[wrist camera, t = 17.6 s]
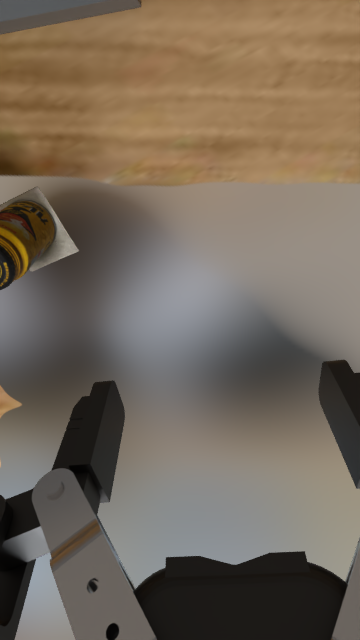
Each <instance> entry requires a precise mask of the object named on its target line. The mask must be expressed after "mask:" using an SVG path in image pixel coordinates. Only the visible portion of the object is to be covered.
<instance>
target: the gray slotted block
mask: <svg viewBox="0 0 360 640" xmlns="http://www.w3.org/2000/svg"><path fill="white" fill-rule="evenodd" d="M139 7H141V1H140V0H0V34H5V33H10V32H16V31H21V30H26V29H31V28H36V27H41V26H46V25H52V24H57V23H62V22H67V21H72V20H77V19H82V18H88V17H93V16H98V15H103V14H108V13H113V12H119V11H124V10H129V9H134V8H139Z"/></svg>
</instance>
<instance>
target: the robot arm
mask: <svg viewBox="0 0 360 640" xmlns="http://www.w3.org/2000/svg"><path fill="white" fill-rule="evenodd" d="M319 400H320V404H321V407H322V409H323V411H324V414H325V416H326V418H327V420H328V423H329V425H330V428H331V430H332V432H333V435H334V437H335V439H336V442H337V444H338V446H339V449H340V451H341V453H342V456H343V458H344V460H345V463H346V465H347V467H348V470H349V472H350V474H351V477H352V479H353V481H354V484H355V486H356V488H357V489H358V488H360V373H354V372H353V371H352V369H351V367H350V366H349V364H348V362H347V361H346V360H336V361H326V362H323V363H322V368H321V376H320V383H319ZM124 420H125V412H124V406H123V403H122V400H121V397H120V394H119V392H118V389H117V386H116V383H115V381H103V382H95V383H94V384H93V387H92V390H91V393H90V396H85V397H82V398H81V399H80V401H79V402H78V403H77V404H76V405H75V407H74V408H73V411H72V414H71V417H70V421H69V423H68V425H67V428H66V431H65V434H64V437H63V440H62V443H61V445H60V448H59V451H58V454H57V457H56V460H55V462H54V465H53V468H52V470H51V471H50V472H48V473H47V474H46V475H44V476H43V477H42V478H41V479H40V480H39V481H38V482H37V484H36V485H35V487H34V488H33V489H31V490H29V491H27V492H24V493H21V494H19V495H16V496H14V497H11V498H8V499H6V500H5V499H4V498H3V497H2V496H1V495H0V640H14V639H15V635H16V632H17V628H18V624H19V620H20V617H21V613H22V610H23V606H24V602H25V598H26V595H27V591H28V587H29V583H30V580H31V576H32V572H33V568H34V565H35V561H36V558H38V557H41V556H43V555H45V554H47V553H51V559H50V566H51V569H52V573H53V575H54V578H55V581H56V584H57V587H58V590H59V593H60V596H61V599H62V602H63V605H64V607H65V610H66V613H67V616H68V619H69V622H70V625H71V627H72V631H73V633H74V636H75V639H76V640H360V538H359V541H358V544H357V548H356V550H355V554H354V557H353V560H352V562H351V565H350V568H349V572H348V575H347V578H346V581H343V580H342V579H341V578H340V577H338V576H337V575H335V574H334V573H332V572H331V571H328V570H327V569H325V568H323V567H321V566H318V565H316V564H313V563H309V562H307V559H306V555H305V552H280V553H268V554H265V555H263V556H260V557H257V558H255V559H252V560H249V561H246V562H243V563H241V564H238V565H231V564H228V563H224V562H220V561H216V560H212V559H209V558H205V557H201V556H188V557H167V558H166V568H164V569H161V570H159V571H157V572H155V573H153V574H152V575H151V576H149V577H148V578H146V579H145V580H144V581H143V582H142V583H141V584H140V585H139V586H138V587H137V588H135V587H134V585H133V583H132V581H131V579H130V577H129V575H128V573H127V572H126V570H125V568H124V566H123V564H122V562H121V560H120V558H119V556H118V554H117V553H116V551H115V549H114V547H113V545H112V543H111V541H110V539H109V537H108V535H107V533H106V531H105V529H104V527H103V525H102V523H101V521H100V519H99V518H98V516H97V513H98V508H99V504H100V503H104V502H110V497H111V492H112V486H113V481H114V475H115V469H116V464H117V459H118V453H119V448H120V442H121V437H122V432H123V426H124Z"/></svg>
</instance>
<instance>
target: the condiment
mask: <svg viewBox="0 0 360 640" xmlns="http://www.w3.org/2000/svg"><path fill="white" fill-rule="evenodd" d="M78 251H79V250H78V248H77V247H76V246H75V244H74V242H73V241H72V239H71V238H70V236H69V235H68V233H67V231H66V230H65V228H64V227H63V225H62V223H61V222H60V220H59V218H58V217H57V215H56V214H55V212H54V210H53V209H52V207H51V206H50V204H49V203H48V201H47V199H46V198H45V196H44V195H43V193H42V192H41V190H40V189H39V188H38V187H35V188H33V189H31V190H29V191H27V192H25V193H23V194H21V195H19V196H17V197H15V198H13V199H11V200H9V201H7V202H5V203H3V204H1V205H0V290H2V289H4V288H6V287H8V286H9V285H10V284H11V283H12V282H13V281H14V280H17V279H19V278H20V277H22V276H23V275H24V274H25V273H26V272H27V271H28V270H29V269H30V271H31V272H33V271H34V270H37V269H39V268H41V267H43V266H46V265H48V264H50V263H52V262H55V261H57V260H59V259H61V258H64V257H66V256H68V255H71V254H73V253H75V252H78Z"/></svg>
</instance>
